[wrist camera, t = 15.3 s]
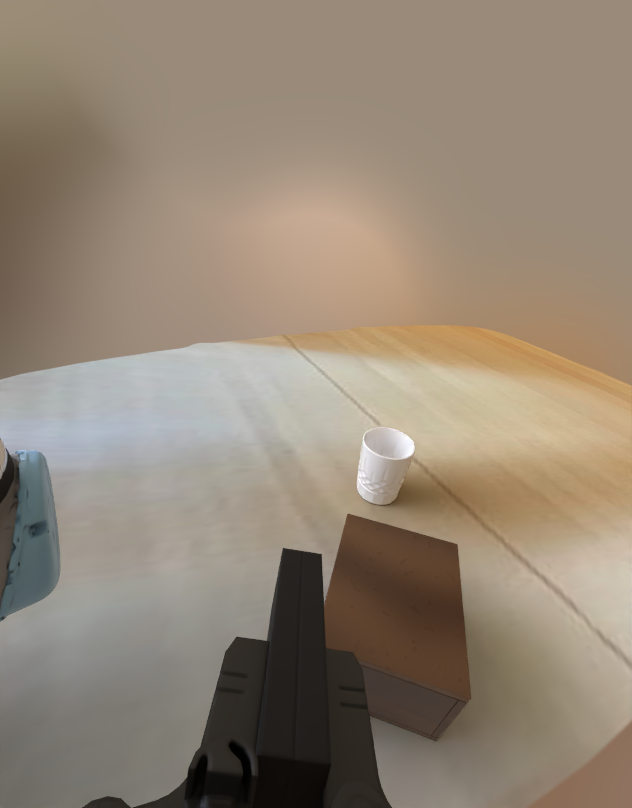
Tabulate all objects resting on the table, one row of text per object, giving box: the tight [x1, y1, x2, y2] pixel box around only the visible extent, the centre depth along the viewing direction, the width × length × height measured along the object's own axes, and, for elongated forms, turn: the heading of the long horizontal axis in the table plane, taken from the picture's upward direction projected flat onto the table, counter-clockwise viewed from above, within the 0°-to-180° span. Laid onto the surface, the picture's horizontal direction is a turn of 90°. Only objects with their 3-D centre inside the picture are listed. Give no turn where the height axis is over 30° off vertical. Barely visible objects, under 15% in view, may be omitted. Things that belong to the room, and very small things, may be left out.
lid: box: [324, 514, 471, 703], centre depth 34 cm, size 14×12×1 cm
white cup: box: [357, 427, 416, 505], centre depth 55 cm, size 8×8×10 cm
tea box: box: [360, 664, 467, 741], centre depth 36 cm, size 13×12×9 cm
